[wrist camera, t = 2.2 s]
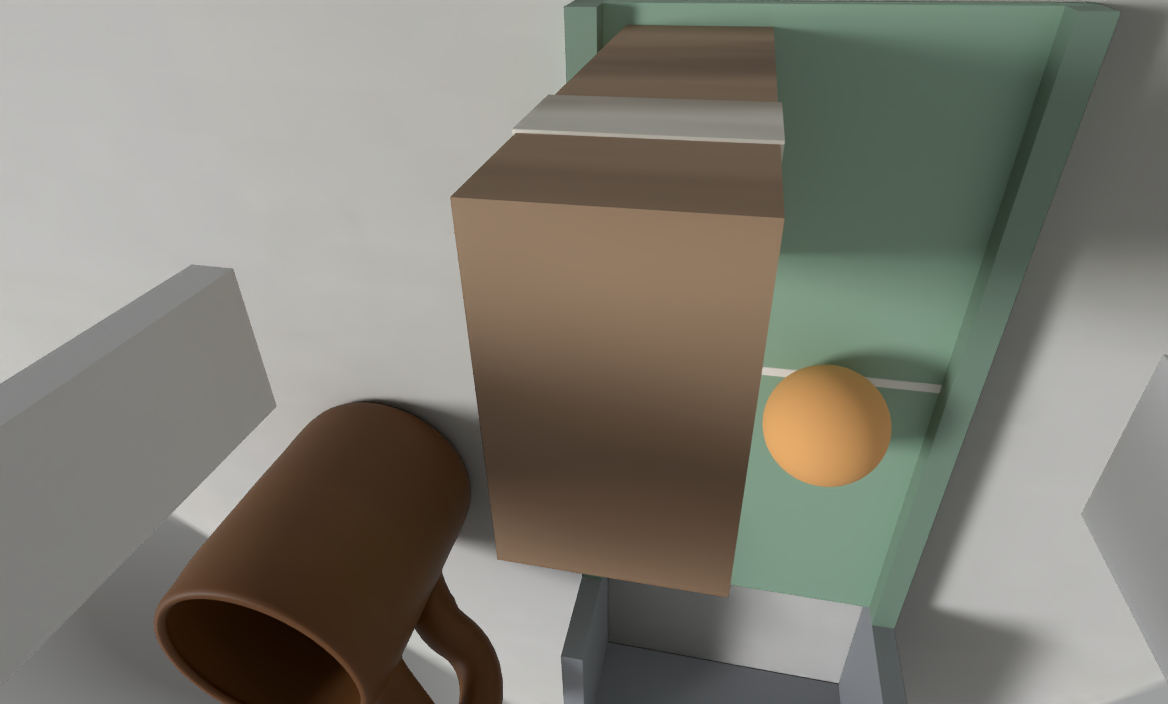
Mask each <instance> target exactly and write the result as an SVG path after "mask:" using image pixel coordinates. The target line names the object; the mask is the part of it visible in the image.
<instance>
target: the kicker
mask: <svg viewBox="0 0 1168 704" xmlns="http://www.w3.org/2000/svg"><path fill="white" fill-rule="evenodd" d="M512 132H513V136H512V137H511V138H510V139H509V140H508V141H507V142H506V143H505V144H504V145H503V146H502V147H501V148H500V149H499V150H498V151H497V152H496V153H495V154H494V155H493V156H492V157H491V158H490V159H489V160H488V161H487V162H486V163H485V164H484V165H483V166H482V167H481V168H479V169H478V170H477V171H476V172H475V173H474V174H473V175H472V176H471V177H470V178H469V179H468V180H467V181H466V182H465V183H464V184H463V185H462V186H461V187H460V188H459V189H458V190H457V191H456V192H455V193H454V194H453V195H452V196H451V197H450V200H451V207H452V215H453V223H454V230H455V238H456V246H457V253H458V261H459V268H460V276H461V284H462V291H463V299H464V307H465V314H466V322H467V330H468V337H469V345H470V352H471V360H472V368H473V375H474V383H475V391H476V398H477V406H478V414H479V421H480V429H481V436H482V444H483V452H484V459H485V467H486V475H487V482H488V490H489V498H490V505H491V513H492V520H493V528H494V536H495V543H496V551H497V559H498V560H504V561H510V562H516V563H522V564H528V565H534V566H540V567H546V568H552V569H558V570H564V571H570V572H576V573H582V574H588V575H594V576H601V577H607V578H613V579H619V580H625V581H631V582H637V583H643V584H649V585H655V586H661V587H667V588H673V589H679V590H685V591H691V592H698V593H704V594H710V595H716V596H722V597H729V590H730V584H731V577H732V570H733V563H734V557H735V550H736V543H737V536H738V530H739V523H740V516H741V509H742V503H743V496H744V489H745V482H746V476H747V469H748V462H749V455H750V449H751V442H752V435H753V429H754V422H755V415H756V408H757V402H758V395H759V388H760V381H761V375H762V368H763V361H764V354H765V348H766V341H767V334H768V327H769V321H770V314H771V307H772V300H773V294H774V287H775V280H776V273H777V267H778V260H779V253H780V246H781V240H782V233H783V226H784V220H785V215H784V198H783V180H782V158H783V151H784V144H785V135H784V122H783V108H782V102H778V93H777V75H776V58H775V40H774V27H752V26H676V25H626V26H625V27H624V28H623V29H622V30H621V31H620V32H619V33H618V34H617V35H616V36H614V37H613V38H612V39H611V40H610V41H609V42H608V43H607V44H606V45H605V46H604V47H603V48H602V49H601V50H600V51H599V52H598V53H597V54H596V55H595V56H594V57H593V58H592V59H591V60H590V61H589V62H588V63H587V64H586V65H585V66H584V67H583V68H582V69H581V70H580V71H579V72H578V73H577V74H576V75H575V76H574V77H573V78H572V79H571V80H569V81H568V82H567V83H566V84H565V85H564V86H563V87H562V88H561V89H560V90H559V91H558V92H557V93H556V94H555V95H548V96H547V97H546V98H545V99H543V100H542V101H541V102H540V103H539V104H538V105H537V106H536V107H535V108H534V109H533V110H532V111H531V112H530V113H529V114H528V115H527V116H526V117H524V118H523V119H522V120H521V121H520V122H519V123H518V124H517V125H516V126H515V127H514V128H513V129H512Z"/></svg>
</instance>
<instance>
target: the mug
mask: <svg viewBox="0 0 1168 704" xmlns="http://www.w3.org/2000/svg"><path fill="white" fill-rule="evenodd" d="M470 497H471V489H470V483H469V478H468V474H467V471H466V469H465V466H464V464H463V462H462V460H461V458H460V456H459V455H458V454H457V452H456V451H455V449H454V448H453V447H452V446H451V444H450V443H449V442H448V441H447V440H446V439H445V438H444V437H443V436H442V435H441V434H440V433H439V432H437V431H436V430H435V429H434V428H432V427H431V426H430V425H428V424H427V423H425V422H424V421H422V420H420V419H419V418H417V417H415V416H413V415H411V414H409V413H407V412H404V411H402V410H399V409H397V408H393V407H390V406H387V405H382V404H377V403H366V402H360V403H349V404H344V405H339V406H336V407H333V408H331V409H329V410H327V411H325V412H323V413H322V414H320V415H319V416H317V417H316V418H315V419H313V420H312V421H311V422H310V423H309V424H308V425H307V426H306V427H305V428H304V429H303V430H302V431H301V432H300V433H299V435H298V436H297V437H296V438H295V439H294V440H293V441H292V443H291V444H290V445H289V446H288V447H287V448H286V450H285V451H284V452H283V453H282V454H281V455H280V457H279V458H278V459H277V460H276V461H275V462H274V463H273V464H272V466H271V467H270V468H269V469H268V470H267V471H266V472H265V473H264V474H263V476H262V477H261V478H260V479H259V480H258V481H257V482H256V484H255V485H254V486H253V487H252V488H251V489H250V490H249V492H248V493H247V494H246V495H245V496H244V497H243V499H242V500H241V501H240V502H239V503H238V504H237V506H236V507H235V508H234V509H233V510H232V511H231V513H230V514H229V515H228V516H227V517H226V518H225V520H224V521H223V522H222V523H221V524H220V525H219V527H218V528H217V529H216V530H215V531H214V532H213V534H212V535H211V536H210V537H209V538H208V539H207V541H206V542H205V543H204V544H203V545H202V546H201V548H200V549H199V550H198V551H197V553H196V554H195V555H194V556H193V558H192V559H191V560H190V561H189V563H188V564H187V566H186V567H185V568H184V570H183V571H182V573H181V574H180V576H179V577H178V578H177V580H176V582H175V583H174V584H173V585H172V587H171V588H170V589H169V591H168V592H167V593H166V594H165V596H164V597H163V599H162V600H161V601H160V603H159V605H158V607H157V609H156V612H155V616H154V631H155V634H156V638H157V640H158V642H159V644H160V646H161V648H162V649H163V651H164V653H165V654H166V656H167V657H168V658H169V659H170V661H171V662H172V663H173V664H174V665H175V667H176V668H177V669H178V670H179V671H180V672H181V673H182V674H183V675H184V676H186V677H187V678H188V679H189V680H190V681H191V682H193V683H194V684H195V685H196V686H198V687H199V688H200V689H201V690H203V691H204V692H206V693H207V694H209V695H210V696H211V697H213V698H214V699H216V700H218V701H220V702H221V703H223V704H435V703H434V702H433V701H432V699H431V698H430V697H429V695H428V694H427V692H426V691H425V690H424V688H423V687H422V686H421V684H420V683H419V682H418V680H417V679H416V678H415V677H414V675H413V674H412V672H411V671H410V670H409V668H408V667H407V665H406V664H405V662H404V660H403V659H402V654H403V651H404V649H405V647H406V645H407V643H408V641H409V639H410V637H411V635H412V633H413V631H414V628H415V630H416V631H417V633H418V634H419V635H420V637H421V638H422V640H423V641H424V642H425V643H426V644H427V645H428V646H429V647H430V648H431V649H432V650H434V651H435V652H436V653H438V654H439V655H441V656H442V657H444V658H445V659H446V660H448V661H449V662H450V664H451V665H452V666H453V668H454V670H455V671H456V674H457V677H458V680H459V685H460V698H459V704H502V701H503V679H502V673H501V668H500V663H499V660H498V657H497V654H496V652H495V649H494V647H493V646H492V644H491V642H490V640H489V638H488V637H487V636H486V634H485V633H484V632H483V630H482V629H481V628H480V627H479V626H478V625H477V624H476V623H475V622H474V621H473V620H472V619H470V618H469V617H468V616H467V615H466V614H464V613H463V612H462V611H461V610H460V609H459V608H458V606H457V604H456V602H455V599H454V597H453V596H452V594H451V593H450V591H449V589H448V587H447V585H446V582H445V580H444V577H443V574H442V569H443V566H444V564H445V562H446V560H447V557H448V555H449V553H450V551H451V549H452V547H453V545H454V543H455V541H456V539H457V537H458V535H459V532H460V530H461V528H462V526H463V523H464V521H465V518H466V515H467V512H468V509H469V504H470Z"/></svg>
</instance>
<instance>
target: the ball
mask: <svg viewBox="0 0 1168 704" xmlns="http://www.w3.org/2000/svg"><path fill="white" fill-rule="evenodd" d="M762 425H763V435H764V439H765V442H766V445H767V447H768V450H769V452H770V453H771V455H772V457H773V458H774V460H775V461H776V462H777V463H778V464H779V465H780V467H781V468H782V469H783V470H785V471H786V472H787V473H788V474H790V475H791V476H793V477H794V478H796V479H798V480H800V481H802V482H805V483H808V484H811V485H815V486H821V487H838V486H843V485H847V484H851V483H853V482H856V481H858V480H860V479H862V478H864V477H865V476H866V475H868V474H869V473H870V472H871V471H873V470H874V469H875V468H876V467H877V466H878V464H879V463H880V462H881V460H882V459H883V457H884V455H885V454H886V451H887V449H888V446H889V443H890V439H891V428H892V425H891V417H890V412H889V410H888V407H887V404H886V402H885V400H884V398H883V396H882V395H881V393H880V392H879V391H878V389H877V388H876V387H875V386H874V385H873V384H872V383H871V382H870V381H869V380H868V379H866V378H865V377H864V376H862V375H860V374H859V373H857V372H855V371H853V370H851V369H848V368H845V367H841V366H836V365H825V364H824V365H814V366H809V367H805V368H802V369H799V370H797V371H795V372H793V373H791V374H790V375H788V376H787V377H785V378H784V379H783V380H782V381H781V382H780V383H779V384H778V385H777V386H776V387H775V388H774V390H773V391H772V393H771V394H770V396H769V398H768V400H767V403H766V405H765V409H764V413H763V422H762Z"/></svg>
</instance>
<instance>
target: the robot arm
mask: <svg viewBox="0 0 1168 704" xmlns="http://www.w3.org/2000/svg"><path fill="white" fill-rule="evenodd" d="M275 407H276V403H275V400H274V397H273V393H272V390H271V387H270V384H269V381H268V378H267V374H266V371H265V368H264V365H263V362H262V359H261V355H260V352H259V349H258V346H257V343H256V340H255V337H254V333H253V330H252V327H251V324H250V321H249V318H248V314H247V311H246V308H245V305H244V302H243V299H242V295H241V292H240V289H239V286H238V283H237V280H236V276H235V273H234V270H233V269H232V268H222V267H211V266H200V265H190V266H189V267H187V268H186V269H184V270H182V271H181V272H179V273H177V274H176V275H174V276H173V277H171V278H169V279H168V280H166V281H165V282H163V283H161V284H160V285H158V286H157V287H155V288H153V289H152V290H150V291H149V292H147V293H145V294H144V295H142V296H141V297H139V298H137V299H136V300H134V301H133V302H131V303H129V304H128V305H126V306H125V307H123V308H121V309H120V310H118V311H117V312H115V313H113V314H112V315H110V316H108V317H107V318H105V319H104V320H102V321H100V322H99V323H97V324H96V325H94V326H92V327H91V328H89V329H88V330H86V331H84V332H83V333H81V334H80V335H78V336H76V337H75V338H73V339H72V340H70V341H68V342H67V343H65V344H64V345H62V346H60V347H59V348H57V349H56V350H54V351H52V352H51V353H49V354H47V355H46V356H44V357H43V358H41V359H39V360H38V361H36V362H35V363H33V364H31V365H30V366H28V367H27V368H25V369H23V370H22V371H20V372H19V373H17V374H15V375H14V376H12V377H11V378H9V379H7V380H6V381H4V382H3V383H1V384H0V687H1V686H2V685H3V684H4V683H5V682H6V681H7V680H8V679H9V678H10V677H11V676H12V675H13V674H14V673H15V672H16V671H17V670H18V669H19V668H20V667H21V666H22V665H23V664H24V663H25V662H26V661H27V660H28V659H29V658H30V657H31V656H32V655H33V654H34V653H35V652H36V651H37V650H38V649H39V648H40V647H41V646H42V645H43V644H44V643H45V642H46V640H48V639H49V638H50V637H51V635H52V634H53V633H54V632H55V631H56V630H57V629H58V628H59V627H60V626H61V625H62V624H63V623H64V622H65V621H66V620H67V619H68V618H69V617H70V616H71V615H72V614H73V613H74V612H75V611H76V610H77V609H78V608H79V607H80V606H81V605H82V604H83V603H84V602H85V601H86V600H87V599H88V598H89V597H90V596H91V595H92V594H93V593H94V592H95V591H96V590H97V589H98V588H99V587H100V585H102V583H104V581H105V580H106V579H107V578H108V577H109V576H110V575H111V574H112V573H113V572H114V571H115V570H116V569H117V568H118V567H119V566H120V565H121V564H122V563H123V562H124V561H125V560H126V559H127V558H128V557H129V556H130V555H131V554H132V553H133V552H134V551H135V550H136V549H137V548H138V547H139V546H140V545H141V544H142V543H143V542H144V541H145V540H146V539H147V538H148V537H149V536H150V535H151V534H152V533H153V532H154V531H155V529H156V528H157V527H159V526H160V524H161V523H162V522H163V521H164V520H165V519H166V518H167V517H168V516H169V515H170V514H171V513H172V512H173V511H174V510H175V509H176V508H177V507H178V506H179V505H180V504H181V503H182V502H183V501H184V500H185V499H186V498H187V497H188V496H189V495H190V494H191V493H192V492H193V491H194V490H195V489H196V488H197V487H198V486H199V485H200V484H201V483H202V482H203V481H204V480H205V479H206V478H207V477H208V476H209V475H210V474H211V473H212V472H213V471H214V470H215V469H216V468H217V466H218V465H219V464H220V463H221V462H222V461H223V460H224V459H225V458H226V457H227V456H228V455H229V454H230V453H231V452H232V451H233V450H234V449H235V448H236V447H237V446H238V445H239V444H240V443H241V442H242V441H243V440H244V439H245V438H246V437H247V436H248V435H249V434H250V433H251V432H252V431H253V430H254V429H255V428H256V427H257V426H258V425H259V424H260V423H261V422H262V421H263V420H264V419H265V418H266V417H267V416H268V415H269V414H270V413H271V412H272V410H273V409H274V408H275ZM1081 515H1082V517H1083V519H1084V521H1085V523H1086V525H1087V527H1088V529H1089V530H1090V532H1091V534H1092V536H1093V538H1094V540H1095V542H1096V544H1097V546H1098V548H1099V550H1100V552H1101V554H1102V556H1103V558H1104V560H1105V562H1106V564H1107V566H1108V568H1109V570H1110V571H1111V573H1112V575H1113V577H1114V579H1115V581H1116V583H1117V585H1118V587H1119V589H1120V591H1121V593H1122V595H1123V597H1124V599H1125V601H1126V603H1127V605H1128V607H1129V609H1130V611H1131V612H1132V614H1133V616H1134V618H1135V620H1136V622H1137V624H1138V626H1139V628H1140V630H1141V632H1142V634H1143V636H1144V638H1145V640H1146V642H1147V644H1148V646H1149V648H1150V650H1151V652H1152V653H1153V655H1154V657H1155V659H1156V661H1157V663H1158V665H1159V667H1160V669H1161V671H1162V673H1163V675H1164V677H1165V679H1166V681H1167V683H1168V355H1163V356H1162V358H1161V360H1160V361H1159V363H1158V365H1157V367H1156V369H1155V371H1154V373H1153V375H1152V377H1151V379H1150V381H1149V383H1148V385H1147V387H1146V389H1145V391H1144V393H1143V395H1142V397H1141V399H1140V400H1139V402H1138V404H1137V406H1136V408H1135V410H1134V412H1133V414H1132V416H1131V418H1130V420H1129V422H1128V424H1127V426H1126V428H1125V430H1124V432H1123V434H1122V436H1121V438H1120V439H1119V441H1118V443H1117V445H1116V447H1115V449H1114V451H1113V453H1112V455H1111V457H1110V459H1109V461H1108V463H1107V465H1106V467H1105V469H1104V471H1103V473H1102V475H1101V477H1100V478H1099V480H1098V482H1097V484H1096V486H1095V488H1094V490H1093V492H1092V494H1091V496H1090V498H1089V500H1088V502H1087V504H1086V506H1085V508H1084V510H1083V512H1082V514H1081Z"/></svg>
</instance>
